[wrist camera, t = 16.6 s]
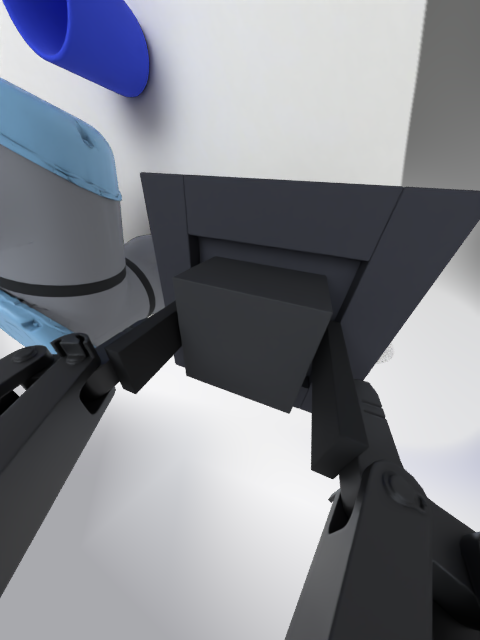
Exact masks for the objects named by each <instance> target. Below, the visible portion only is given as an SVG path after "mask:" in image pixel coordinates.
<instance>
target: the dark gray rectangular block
mask: <svg viewBox="0 0 480 640" xmlns="http://www.w3.org/2000/svg"><path fill="white" fill-rule="evenodd" d="M172 279H173V286H174V293H175V300H176V307H177V314H178V321H179V328H180V335H181V341H182V348H183V355H184V362H185V369H186V375H187V376H189V377H192V378H194V379H197V380H200V381H202V382H205V383H208V384H210V385H213V386H216V387H218V388H221V389H224V390H227V391H229V392H232V393H235V394H238V395H240V396H243V397H245V398H248V399H251V400H253V401H256V402H259V403H262V404H264V405H267V406H270V407H272V408H275V409H278V410H281V411H283V412H286V413H290V411H291V409H292V407H293V405H294V402H295V400H296V398H297V395H298V393H299V391H300V388H301V386H302V384H303V381H304V379H305V377H306V375H307V372H308V370H309V368H310V365H311V363H312V361H313V358H314V356H315V354H316V351H317V349H318V347H319V345H320V342H321V340H322V338H323V335H324V333H325V331H326V328H327V326H328V324H329V321H330V319H331V317H332V314H333V310H332V305H331V299H330V293H329V288H328V282H327V276H326V275H320V274H314V273H309V272H303V271H297V270H292V269H286V268H280V267H274V266H269V265H263V264H257V263H252V262H246V261H240V260H235V259H229V258H223V257H218V256H215V257H213V258H211V259H209V260H207V261H205V262H202V263H200V264H198V265H196V266H194V267H192V268H190V269H188V270H186V271H184V272H182V273H180V274H178V275H176V276H174V277H172Z"/></svg>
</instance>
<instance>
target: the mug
mask: <svg viewBox="0 0 480 640" xmlns="http://www.w3.org/2000/svg"><path fill="white" fill-rule="evenodd" d="M2 1H3V3H4V5H5V7H6V9H7V11H8V13H9V16H10V18H11V19H12V21H13V23H14V25H15V26H16V28H17V30H18V31H19V33H20V34H21V36H22V37H23V39H24V40H25V41H26V43H27V44H28V45H29V46H30V47H31V49H32V50H33V51H34V52H35V53H36V54H38V55H39V56H40V57H41V58H43V59H45V60H46V61H48V62H51V63H53V64H55V65H57V66H59V67H61V68H64V69H66V70H68V71H70V72H72V73H74V74H77V75H79V76H81V77H83V78H85V79H88V80H90V81H92V82H94V83H96V84H98V85H101V86H103V87H105V88H107V89H109V90H111V91H114V92H116V93H118V94H120V95H123V96H125V97H136V96H138V95H139V94H141V93H142V91H143V90H144V88H145V86H146V84H147V80H148V75H149V56H148V49H147V44H146V41H145V37H144V34H143V32H142V29H141V27H140V25H139V23H138V21H137V19H136V17H135V16H134V14H133V12H132V11H131V9H130V8H129V7H128V5H127V4H126V3H125V2H124V0H2Z"/></svg>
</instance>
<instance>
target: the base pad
mask: <svg viewBox="0 0 480 640" xmlns="http://www.w3.org/2000/svg"><path fill="white" fill-rule="evenodd" d="M140 177H141V182H142V187H143V193H144V198H145V203H146V209H147V214H148V219H149V225H150V230H151V235H152V241H153V246H154V251H155V257H156V262H157V267H158V273H159V278H160V283H161V289H162V294H163V299H164V305H165V307H166V306H167V305H169V304H171V303H172V302H174V301H175V293H174V286H173V279H172V277H174V276H176V275H178V274H180V273H182V272H184V271H186V270H188V269H190V268H192V267H194V266H196V265H198V264H200V263H202V262H205V261H207V260H209V259H211V258H213V257H215V256H218V257H223V258H229V259H235V260H240V261H246V262H252V263H257V264H263V265H269V266H274V267H280V268H286V269H292V270H297V271H303V272H309V273H314V274H320V275H326V276H327V282H328V288H329V293H330V299H331V305H332V310H333V314H332V317H331V319H330V321H334V322H339V323H341V327H342V331H343V335H344V340H345V344H346V348H347V353H348V357H349V361H350V366H351V370H352V374H353V378H355V379H358V380H362V381H363V380H364V379H365V377H366V376H367V374H368V373H369V372H370V370H371V369H372V368H373V366H374V365H375V363H376V362H377V361H378V359H379V358H380V357H381V355H382V354H383V352H384V351H385V350H386V348H387V347H388V345H389V344H390V343H391V341H392V340H393V339H394V337H395V336H396V334H397V333H398V332H399V330H400V329H401V328H402V326H403V325H404V323H405V322H406V321H407V319H408V318H409V316H410V315H411V314H412V312H413V311H414V309H415V308H416V307H417V305H418V304H419V303H420V301H421V300H422V298H423V297H424V296H425V294H426V293H427V292H428V290H429V289H430V287H431V286H432V285H433V283H434V282H435V280H436V279H437V278H438V276H439V275H440V274H441V272H442V271H443V269H444V268H445V267H446V265H447V264H448V262H449V261H450V260H451V258H452V257H453V256H454V254H455V253H456V252H457V250H458V249H459V247H460V246H461V245H462V243H463V242H464V240H465V239H466V238H467V236H468V235H469V234H470V232H471V231H472V229H473V228H474V227H475V225H476V224H477V222H478V221H479V220H480V191H473V190H456V189H455V190H454V189H438V188H437V189H436V188H419V187H402V186H383V185H365V184H347V183H329V182H310V181H292V180H274V179H256V178H237V177H219V176H201V175H181V174H163V173H145V172H141V173H140ZM174 358H175V363H176V364H177V365H179V366H182V367H185V362H184V355H183V348H182V347H181V348H180V349H179V350H178V351H177V352H176V353H175V354H174ZM293 407H296V408H300V409H302V410H305V411H308V412H310V413H312V363H311V365H310V368H309V370H308V372H307V375H306V377H305V379H304V381H303V384H302V386H301V388H300V391H299V393H298V395H297V398H296V400H295V402H294V405H293Z"/></svg>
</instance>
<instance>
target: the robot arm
mask: <svg viewBox="0 0 480 640" xmlns="http://www.w3.org/2000/svg"><path fill="white" fill-rule="evenodd" d="M121 200H122V195H121V193H120V191H119V188H118V181H117V174H116V167H115V160H114V156H113V153H112V150H111V148H110V146H109V144H108V143H107V141H106V140H105V138H104V137H103V136H102V135H101V134H100V133H99V132H98V131H97V130H96V129H95V128H93V127H92V126H91V125H89V124H87V123H86V122H84V121H82V120H80V119H78V118H77V117H75V116H73V115H71V114H69V113H67V112H65V111H63V110H62V109H60V108H58V107H56V106H54V105H52V104H50V103H48V102H46V101H44V100H42V99H40V98H39V97H37V96H35V95H33V94H31V93H29V92H27V91H25V90H23V89H21V88H19V87H18V86H16V85H14V84H12V83H10V82H8V81H6V80H4V79H2V78H0V328H1V329H2V330H3V331H5V332H6V333H7V334H9V335H10V336H11V337H13V338H14V339H15V340H17V341H18V342H19V343H21V344H22V345H24V346H25V348H22V349H19V350H17V351H15V352H13V353H11V354H9V355H7V356H6V357H4V358H2V359H0V597H1V595H2V594H3V592H4V590H5V588H6V587H7V584H8V583H9V581H10V579H11V578H12V576H13V574H14V572H15V570H16V569H17V567H18V565H19V563H20V562H21V560H22V558H23V556H24V554H25V553H26V551H27V549H28V547H29V546H30V544H31V542H32V540H33V538H34V537H35V535H36V533H37V531H38V529H39V528H40V526H41V524H42V522H43V520H44V519H45V517H46V515H47V513H48V512H49V510H50V508H51V506H52V505H53V503H54V501H55V499H56V497H57V496H58V494H59V492H60V490H61V488H62V487H63V485H64V483H65V481H66V479H67V478H68V476H69V474H70V472H71V471H72V469H73V467H74V465H75V463H76V462H77V460H78V458H79V456H80V455H81V453H82V451H83V449H84V447H85V446H86V444H87V442H88V440H89V439H90V437H91V435H92V433H93V431H94V430H95V428H96V426H97V424H98V422H99V421H100V419H101V417H102V415H103V413H104V412H105V410H106V408H107V406H108V405H109V403H110V401H111V399H112V397H113V396H114V393H115V391H116V389H115V385H116V384H117V383H118V382H120V383H121V385H122V387H123V389H125V390H127V391H130V392H132V393H134V394H136V393H137V392H138V391H139V390H140V389H141V388H142V387H143V386H144V385H145V384H146V383H147V382H148V381H149V380H150V379H151V378H152V377H153V376H154V375H155V374H156V373H157V372H158V371H159V370H160V368H161V367H162V366H163V365H164V364H165V363H166V362H167V361H168V360H169V359H170V358H171V357H172V356H173V355H174V354H175V353H176V352H177V351H178V350H179V349H180V348H181V347H182V341H181V335H180V328H179V321H178V314H177V307H176V300H175V301H174V302H172V303H171V304H169V305H167V306H166V307H165V305H164V299H163V294H162V289H161V283H160V278H159V273H158V267H157V262H156V257H155V251H154V246H153V241H152V235H143V236H138V237H136V238H134V239H132V240H130V241H129V242H128V243H126V244H125V245H124V240H123V229H122V218H121V207H120V201H121ZM151 314H154V315H152V316H151V317H149V318H147V317H148V316H150V315H151ZM19 385H21V386H23V388H24V389H25V390H26V391H25V392H24V393H23V394H22V395H21V396H20V397H19V396H18V395H17V394H16V393H15V392H14V391H13V389H15V388H16V387H18V386H19ZM381 407H382V405H381V402H380V399H379V397H378V394H377V393H376V391H375V390H374V389H373V387H372V386H371V385H370V383H368V382H365V381H362V380H358V379H355V378H353V374H352V370H351V366H350V361H349V357H348V353H347V348H346V344H345V340H344V335H343V331H342V327H341V323H339V322H334V321H329V324H328V326H327V328H326V331H325V333H324V335H323V338H322V340H321V342H320V345H319V347H318V349H317V351H316V354H315V356H314V358H313V361H312V442H311V445H312V446H311V470H312V471H315V472H317V473H320V474H322V475H324V476H326V477H329V478H331V479H334V478H335V477H336V476H337V475H338V474H339V479H340V489H338V490H337V491H336V492H334V493H333V494H332V495H331V497H330V498H329V499H328V500H329V501H330V502H331V503H332V502H333V504H332V507H331V510H330V512H329V515H328V518H327V521H326V524H325V527H324V530H323V532H322V536H321V538H320V541H319V544H318V547H317V549H316V552H315V555H314V558H313V561H312V564H311V566H310V569H309V572H308V575H307V578H306V581H305V583H304V586H303V589H302V592H301V595H300V598H299V600H298V603H297V606H296V609H295V612H294V615H293V618H292V620H291V623H290V626H289V629H288V632H287V634H286V637H285V640H480V532H475V531H473V530H472V529H471V528H469V527H468V526H466V525H465V524H463V523H462V522H460V521H459V520H458V519H456V518H455V517H453V516H452V515H450V514H449V513H448V512H446V511H445V510H443V509H442V508H440V507H439V506H438V505H436V504H435V503H434V502H432V501H431V500H430V499H428V498H427V496H426V494H425V492H424V491H423V489H422V488H421V486H420V485H419V484H418V482H417V481H416V480H415V479H414V477H413V476H412V475H410V474H409V473H408V472H407V471H406V470H405V469H404V468H403V465H402V463H401V461H400V458H399V455H398V452H397V449H396V446H395V443H394V440H393V437H392V435H391V432H390V429H389V426H388V423H387V420H386V419H385V414H384V411H383V409H382V408H381Z"/></svg>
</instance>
